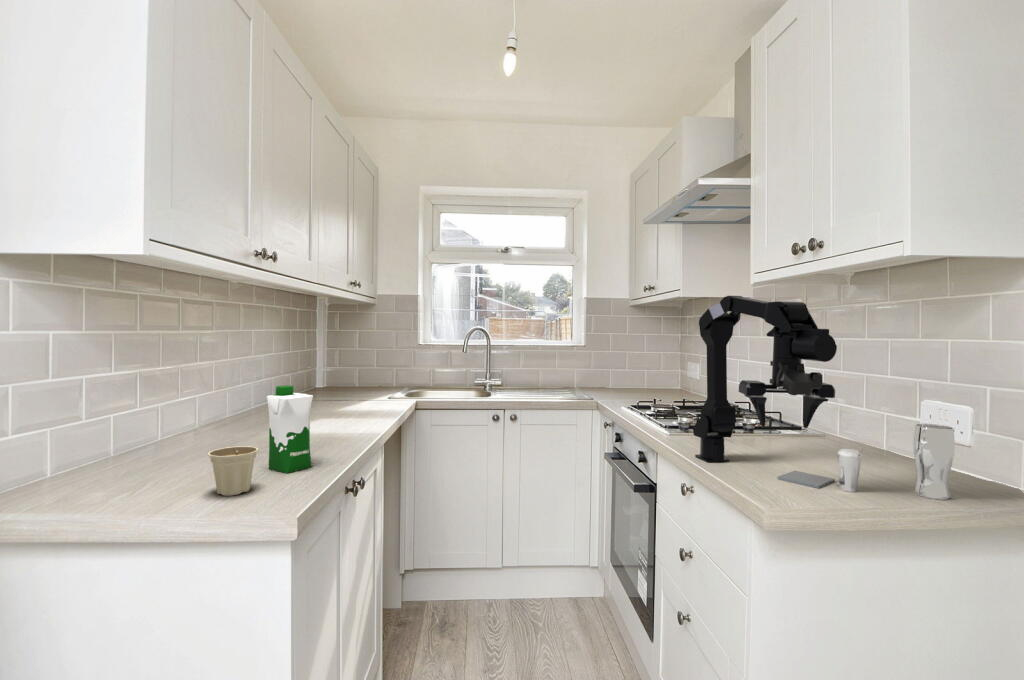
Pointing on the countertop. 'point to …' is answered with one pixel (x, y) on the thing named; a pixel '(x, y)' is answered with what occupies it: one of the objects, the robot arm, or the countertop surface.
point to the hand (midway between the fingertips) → (784, 427)
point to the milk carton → (289, 430)
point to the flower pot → (233, 469)
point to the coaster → (806, 479)
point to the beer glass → (933, 459)
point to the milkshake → (849, 469)
